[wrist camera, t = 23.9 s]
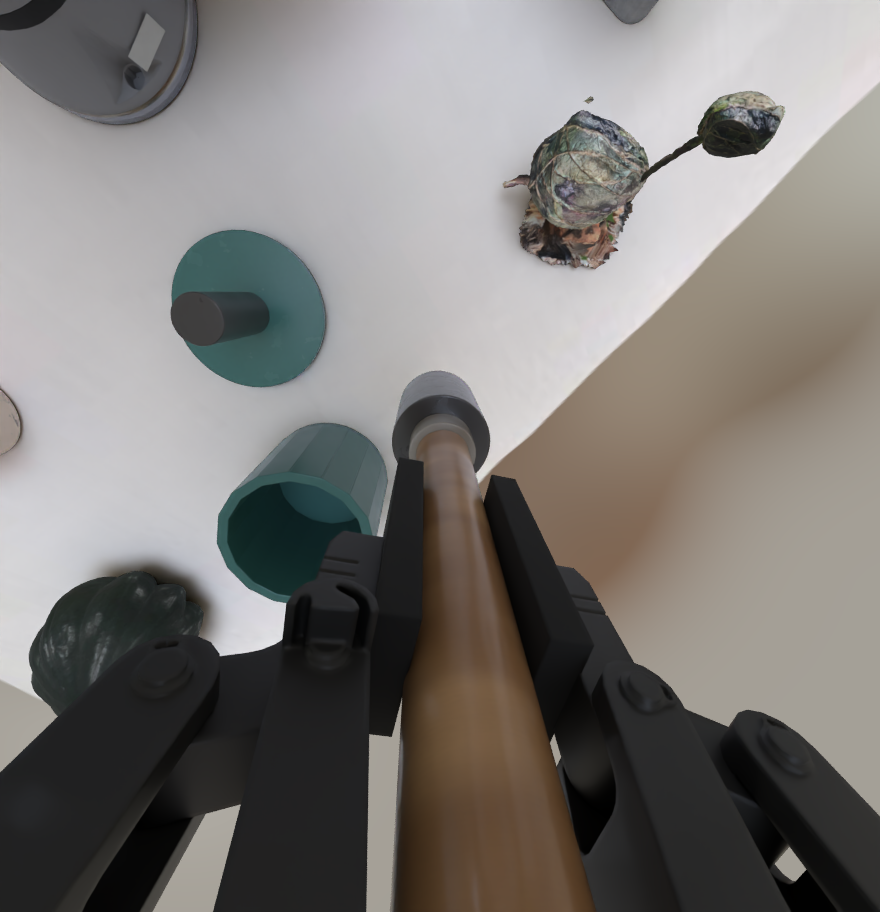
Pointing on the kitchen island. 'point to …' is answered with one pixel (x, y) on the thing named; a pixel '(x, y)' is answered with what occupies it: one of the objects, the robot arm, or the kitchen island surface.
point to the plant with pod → (619, 175)
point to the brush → (471, 700)
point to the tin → (301, 507)
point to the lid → (248, 308)
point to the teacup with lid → (8, 424)
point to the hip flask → (630, 9)
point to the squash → (104, 631)
